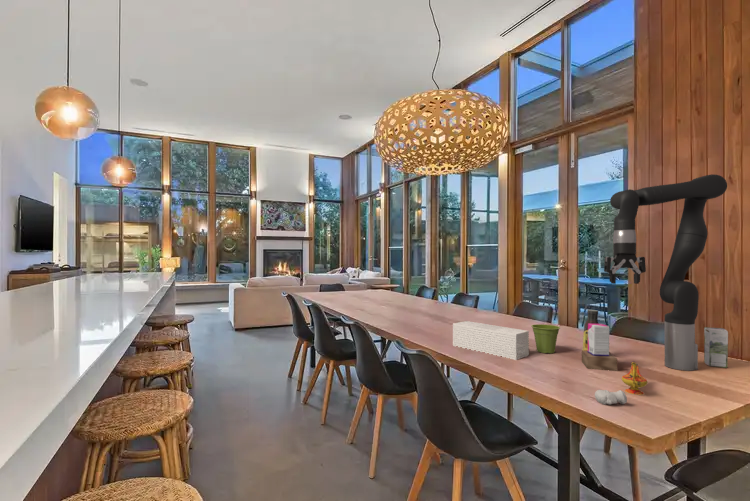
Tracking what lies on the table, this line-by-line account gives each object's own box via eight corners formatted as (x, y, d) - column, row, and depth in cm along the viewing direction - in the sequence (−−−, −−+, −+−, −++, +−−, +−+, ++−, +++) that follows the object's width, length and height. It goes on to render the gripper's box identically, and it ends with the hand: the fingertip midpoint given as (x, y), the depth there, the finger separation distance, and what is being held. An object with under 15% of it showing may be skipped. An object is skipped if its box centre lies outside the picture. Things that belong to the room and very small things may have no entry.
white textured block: (452, 346, 184) (452, 323, 184) (466, 342, 191) (466, 320, 191) (516, 360, 160) (516, 334, 160) (528, 356, 167) (528, 330, 167)
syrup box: (722, 364, 154) (722, 327, 154) (728, 368, 148) (728, 330, 148) (703, 362, 156) (703, 326, 156) (709, 366, 151) (709, 329, 151)
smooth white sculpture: (596, 408, 114) (593, 397, 118) (628, 412, 111) (624, 400, 115) (596, 395, 112) (593, 385, 117) (629, 399, 110) (625, 387, 114)
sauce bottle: (583, 358, 162) (583, 310, 162) (581, 354, 168) (581, 308, 168) (601, 360, 160) (601, 311, 160) (599, 356, 165) (599, 309, 166)
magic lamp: (647, 384, 130) (647, 351, 130) (647, 401, 115) (647, 364, 115) (623, 380, 134) (623, 348, 134) (620, 396, 119) (620, 360, 119)
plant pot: (561, 350, 175) (561, 325, 175) (558, 356, 165) (558, 330, 165) (533, 347, 181) (533, 323, 181) (528, 352, 171) (528, 327, 171)
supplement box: (610, 356, 148) (609, 326, 148) (593, 356, 149) (593, 326, 149) (602, 352, 154) (602, 323, 154) (587, 351, 154) (586, 323, 154)
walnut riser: (609, 364, 155) (609, 352, 155) (617, 372, 145) (617, 358, 145) (581, 362, 157) (581, 350, 157) (587, 369, 148) (587, 356, 148)
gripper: (638, 242, 155) (638, 282, 155) (600, 242, 156) (600, 282, 156) (649, 241, 147) (650, 284, 147) (610, 241, 148) (610, 284, 148)
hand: (624, 283), depth 151 cm, fingers open, 8 cm apart
